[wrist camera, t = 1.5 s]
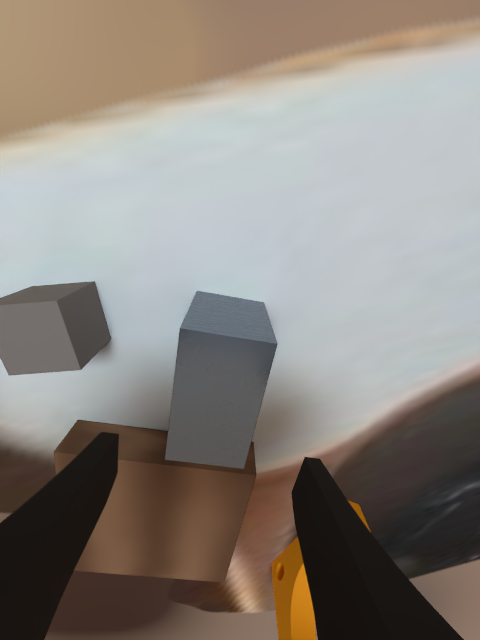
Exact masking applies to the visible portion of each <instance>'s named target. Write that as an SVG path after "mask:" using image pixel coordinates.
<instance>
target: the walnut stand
mask: <svg viewBox="0 0 480 640" xmlns="http://www.w3.org/2000/svg"><path fill="white" fill-rule="evenodd" d="M101 432H108V433H116V434H119V444H118V473H117V476H116V479H115V482H114V484H113V487H112V490H111V492H110V495H109V498H108V500H107V503H106V505H105V507H104V509H103V511H102V514H101V516H100V518H99V520H98V522H97V524H96V526H95V528H94V530H93V532H92V534H91V536H90V538H89V540H88V542H87V545H86V547H85V549H84V551H83V553H82V555H81V557H80V559H79V561H78V563H77V565H76V567H75V569H74V571H86V572H100V573H113V574H125V575H137V576H150V577H164V578H176V579H188V580H201V581H214V582H225V579H226V575H227V572H228V568H229V565H230V562H231V558H232V555H233V552H234V548H235V545H236V542H237V538H238V535H239V532H240V528H241V525H242V521H243V518H244V515H245V511H246V508H247V505H248V501H249V498H250V495H251V491H252V488H253V485H254V481H255V478H256V467H255V455H254V443H253V442H251V444H250V447H249V451H248V455H247V459H246V462H245V466H244V469H242V468H233V467H224V466H216V465H207V464H198V463H190V462H181V461H173V460H165V455H166V446H167V437H168V431H161V430H153V429H145V428H137V427H129V426H121V425H113V424H106V423H98V422H90V421H82V420H77V422H76V423H75V424H74V426H73V427H72V428H71V430H70V431H69V432H68V434H67V435H66V436H65V438H64V439H63V440H62V442H61V443H60V444H59V446H58V447H57V448H56V450H55V451H54V459H55V470H56V475H57V474H58V473H59V472H60V471H61V470H62V469H63V468H65V467H66V466H67V465H68V464H69V463H70V462H71V461H72V460H73V459H74V458H75V457H76V456H77V455H78V454H79V453H80V452H81V451H82V450H83V449H84V448H85V447H86V446H87V445H88V444H89V443H90V442H91V441H92V440H93V439H94V438H95V437H96V436H97V435H98V434H99V433H101Z"/></svg>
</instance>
